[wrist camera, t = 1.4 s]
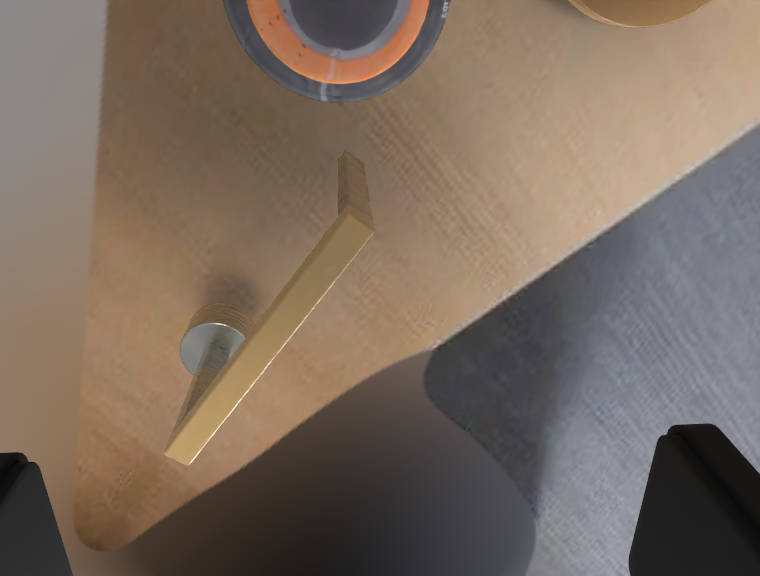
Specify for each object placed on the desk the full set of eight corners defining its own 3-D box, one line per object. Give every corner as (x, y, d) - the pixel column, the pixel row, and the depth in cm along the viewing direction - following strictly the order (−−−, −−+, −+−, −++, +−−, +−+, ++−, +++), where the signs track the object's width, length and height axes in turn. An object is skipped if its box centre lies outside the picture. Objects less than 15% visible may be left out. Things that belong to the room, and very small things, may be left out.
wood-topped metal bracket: (234, 371, 30) (199, 499, 22) (176, 339, 29) (118, 461, 21) (384, 177, 26) (404, 251, 18) (323, 132, 25) (318, 191, 17)
